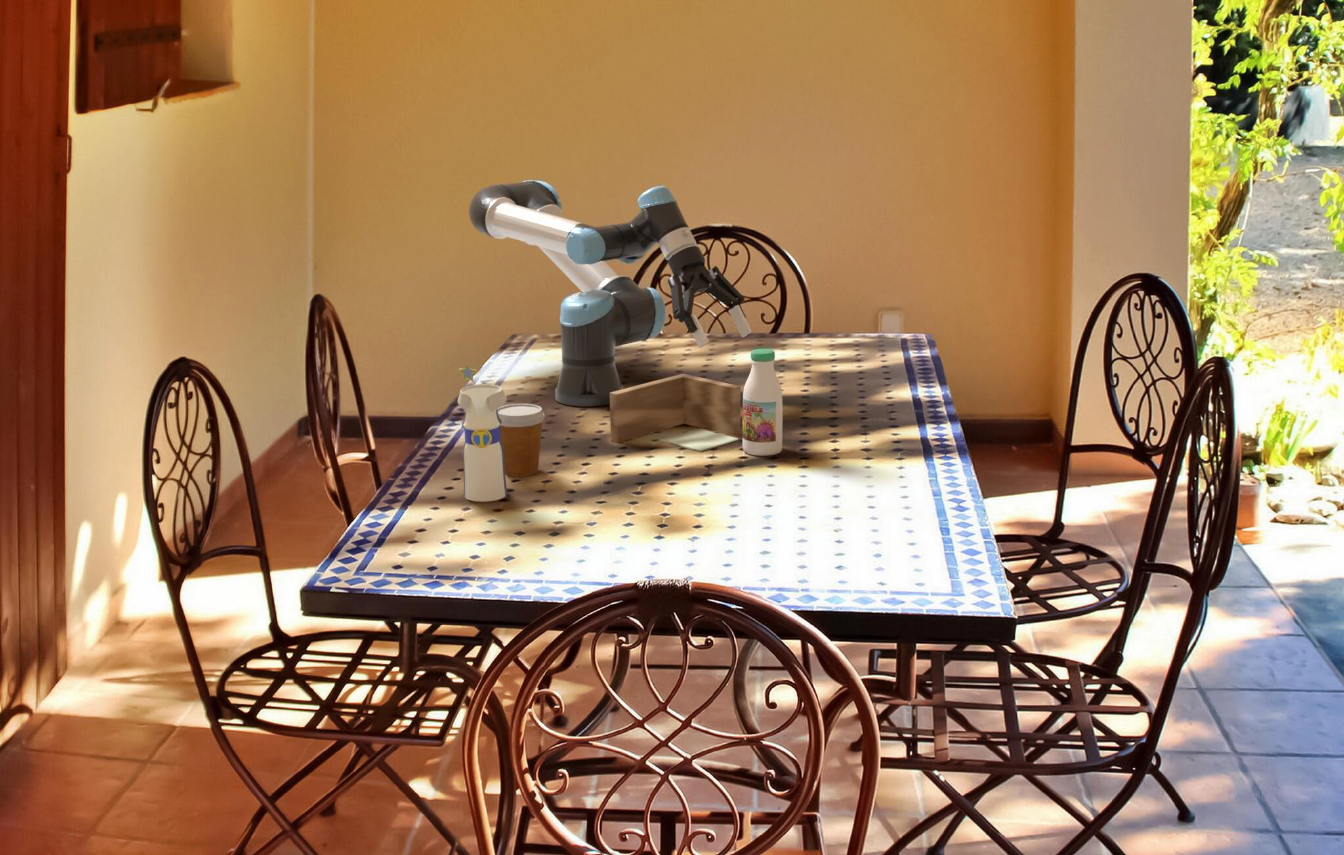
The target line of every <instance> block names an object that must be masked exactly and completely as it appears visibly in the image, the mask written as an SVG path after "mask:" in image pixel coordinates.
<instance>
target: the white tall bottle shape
mask: <svg viewBox="0 0 1344 855" xmlns="http://www.w3.org/2000/svg"><path fill="white" fill-rule="evenodd" d="M458 371H459V372H460V373H462V375H463V376H462V382H464V381H467V380H469V381H471V382H473V383H474V381H475V380H474V377H473V375H474V374H475V373H477V371H478V370H477V369H474V368H473V369H472V368H471V367H470V365H469V363H468V362H467V363H466V365H465V367H464V368H458ZM507 400H508V398H507V394H506V393H505V392H504V389H503V388H502V386H500V385H496V384H488V383H487V384H486V383H484V384H481V383H480V384H473V385H468V386H464V387H463V388H461V389H460V391H459V395H458V398H457V404H458V405H459V406H460V407H461V408H462V410H464V418H463V420H462V421H461V426H462V427H463V428H464V443H463V447H462V449H463V450H462V456H463V457H462V461H463V498H465V499H466V500H467V501H472V502H493V501H499V500H501V499H503V498H506V497H507V496H508V488H507V479H506V476H507V475H506V474H505V464H504V449H503V444H502V441H501V437H500V425H501V423H502V421H501V419H500V418H499V415H498V408H500V407H501V406H505V404H506V403H507Z"/></svg>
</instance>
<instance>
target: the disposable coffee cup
mask: <svg viewBox="0 0 1344 855" xmlns="http://www.w3.org/2000/svg"><path fill="white" fill-rule="evenodd" d="M498 415H499V418H500V419H501V421H502V423H501V425H500V437H501V441H502V444H503V449H504V464H505V475H506V476H511V477H528V476H532V475H534V474H536V473H538V471H539V463H540V462H539V461H540V453H541V452H540V451H541V450H540V449H541V441H542V429H543V421H544V418H545V413H544V412H543V408H542V406H540V405H536V404H531V403H512V404H506V405H505V404H504V405H503V406H501V407H500V408H498Z"/></svg>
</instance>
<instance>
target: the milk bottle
mask: <svg viewBox="0 0 1344 855" xmlns="http://www.w3.org/2000/svg"><path fill="white" fill-rule="evenodd" d="M775 361H776V353H775V350H774V349H771V348H757V349H753V350H751V351H750V363H751V369H750V372H749V375H748V377H747V379H746V382H745V384H744V387H743V392H742V393H743V394H742V450H743V452H744V453H746V454H747V455H748V454H749V455H750V456H751V455H752V456H761V457H762V456H763V457H764V456H765V457H766V456H768V457H769V456H774V455H777V454H779V453H781V452H782V450H783V392H782V387H781V384H780V381H779V378H778V376H777V374H776V371H775V366H774V363H775Z"/></svg>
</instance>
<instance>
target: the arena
mask: <svg viewBox="0 0 1344 855" xmlns="http://www.w3.org/2000/svg"><path fill="white" fill-rule="evenodd" d="M609 411H610V412H609V418H610V419H609V420H610V423H609V424H610V441H611V442H613V443H616V444H618V443H622V442H625V441H629V440H633V439H637V438H639V437H644V436H647V435H650V434H653V433H656V432H660V431H663V430H666V429H670V428H673V427H677V426H680V425H684V424H685V425H688V426H691V427H696V429H691V430H689V431H685V432H682V433H680V434H675V435H671V436H669V437H665V438H663V439H662V438H661V439H660V442H662V443H666V444H669V445H673V446H676V447H681V448H685V449H689V450H691V451H696V452H700V453H702V452H705V451H707V450H711V449H714V448H718V447H720V446H724V445H727V444H730V443H733V442H737V441H739V438H737V437H735V436H738V435H741V434H742V432H741V427H742V426H741V424H742V423H741V422H742V420H741V385H738V384H737V385H736V384H732V383H727V382H723V381H718V380H714V379H709V378H704V377H701V376H695V375H691V374H686V373H681V374H675V375H673V376H669V377H668V376H667V377H665V378H661V379H658V380H653V381H650V382H649V381H648V382H645V383H642V384H638V385H634V386H629V387H626V388H623V389H622V390H618V391H614V392H610V404H609Z"/></svg>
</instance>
